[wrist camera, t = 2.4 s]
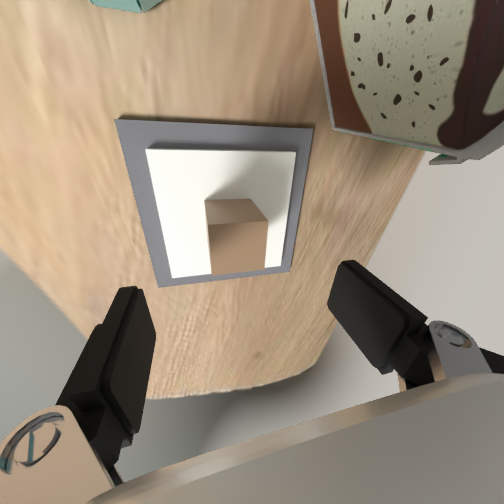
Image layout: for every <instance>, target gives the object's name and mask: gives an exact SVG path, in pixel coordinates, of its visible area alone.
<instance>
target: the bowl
mask: <svg viewBox="0 0 504 504" xmlns="http://www.w3.org/2000/svg"><path fill="white" fill-rule="evenodd" d="M88 1H89V2H90V3H92V4H93V5H94V4H95V5H96V6H99V7H105V8H111V9H118V10H124V11H130V12H137V13H142V11H141V10H143V12H144V13H145V12H146V11H147V10H149V9H150V8H152V7H153V6H155V5H156V4H157V3H159V2H161V1H162V0H88Z"/></svg>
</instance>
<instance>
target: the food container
mask: <svg viewBox="0 0 504 504" xmlns="http://www.w3.org/2000/svg"><path fill="white" fill-rule="evenodd" d="M310 6H311V12H312V18H313V23H314V29H315V35H316V40H317V46H318V52H319V57H320V63H321V69H322V74H323V80H324V86H325V91H326V97H327V103H328V109H329V114H330V120H331V126H332V130H334V131H338V132H343V133H348V134H352V135H357V136H361V137H366V138H371V139H375V140H380V141H384V142H389V143H394V144H398V145H403V146H408V147H412V148H417V149H421V150H426V151H431V152H435V153H440V154H441V155H439V156H437V157H436V158H434V159H432V160H431V161H429V165H440V164H461V163H463V162H464V161H466V160H468V159H473V160H480V159H482V158H484V157H485V156H487V155H489V154H490V153H492V152H493V151H495V150H497V149H498V148H500V147H501V146H503V145H504V0H310Z"/></svg>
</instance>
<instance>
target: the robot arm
mask: <svg viewBox="0 0 504 504" xmlns="http://www.w3.org/2000/svg"><path fill="white" fill-rule="evenodd" d="M327 305H328V308H329V310H330V311H331V312H332V314H333V315H334V316H335V318H336V319H337V320H338V322H339V323H340V324H341V325H342V327H343V328H344V329H345V331H346V332H347V333H348V334H349V336H350V337H351V338H352V340H353V341H354V342H355V344H356V345H357V346H358V347H359V349H360V350H361V351H362V352H363V354H364V355H365V356H366V358H367V359H368V360H369V361H370V363H371V364H372V365H373V366H374V367H375V368H377V369H378V370H379V371H380V373H381V374H382V375H383V374H387V373H390V372H392V371H393V370H394V369H395V370H396V372H397V373H398V380H399V388H400V393H396V394H393V395H390V396H386V397H383V398H380V399H377V400H373V401H370V402H367V403H364V404H360V405H357V406H354V407H351V408H348V409H344V410H341V411H338V412H335V413H332V414H328V415H325V416H322V417H319V418H315V419H312V420H309V421H306V422H303V423H299V424H296V425H293V426H290V427H287V428H284V429H281V430H277V431H274V432H271V433H268V434H265V435H262V436H258V437H256V438H252V439H249V440H246V441H243V442H240V443H237V444H233V445H230V446H227V447H224V448H221V449H218V450H215V451H211V452H209V453H205V454H203V455H200V456H197V457H194V458H191V459H188V460H185V461H182V462H179V463H176V464H173V465H170V466H167V467H164V468H161V469H158V470H155V471H153V472H151V473H148V474H145V475H143V476H140V477H138V478H135V479H133V480H130V481H128V482H124V480H123V478H122V476H121V474H120V473H119V471H118V469H117V467H116V466H115V463H116V462H117V461H118V459H119V454H120V450H121V448H123V447H127V446H131V444H132V440H133V435H134V434H135V433H138V432H139V429H140V425H141V419H142V414H143V409H144V403H145V397H146V392H147V386H148V381H149V375H150V369H151V364H152V358H153V353H154V347H155V341H156V332H155V329H154V325H153V322H152V319H151V315H150V312H149V309H148V306H147V302H146V299H145V296H144V292H143V290H142V289H138V288H137V286H130V287H122V288H119V290H118V292H117V294H116V296H115V298H114V300H113V302H112V304H111V307H110V309H109V311H108V313H107V315H106V317H105V319H104V321H103V323H102V324H98V325H97V326H96V327H95V328H94V330H93V331H92V333H91V335H90V337H89V339H88V341H87V343H86V345H85V347H84V349H83V351H82V353H81V355H80V357H79V359H78V361H77V363H76V365H75V368H74V369H73V371H72V373H71V375H70V377H69V379H68V381H67V383H66V385H65V387H64V389H63V391H62V393H61V395H60V397H59V399H58V401H57V403H56V405H55V406H50V407H47V408H45V409H42V410H40V411H38V412H36V413H34V414H33V415H31V416H29V417H28V418H26V419H25V420H24V421H22V422H21V423H20V424H19V425H18V426H16V427H15V428H14V429H13V430H12V431H11V432H10V433H9V434H8V435H7V437H5V438H4V440H3V441H2V442H1V444H0V504H504V356H502V355H499V354H496V353H493V352H491V351H487V350H485V349H482V348H479V347H478V345H477V343H476V342H475V341H474V339H473V338H472V337H471V336H470V335H469V334H467V333H466V332H465V331H463V330H462V329H461V328H459V327H457V326H454V325H453V324H450V323H447V322H444V321H432V322H431V323H430V324H429V325H428V326H427V325H426V324H425V321H426V320H427V318H428V317H426V316H425V315H424V314H423V313H421V312H420V311H419V310H418V309H416V308H415V307H414V306H413V305H411V304H410V303H409V302H407V301H406V300H405V299H403V298H402V297H401V296H400V295H399V294H397V293H396V292H395V291H393V290H392V289H391V288H390V287H388V286H387V285H386V284H385V283H383V282H382V281H381V280H379V279H378V278H377V277H376V276H374V275H373V274H372V273H371V272H369V271H368V270H367V269H365V268H364V267H363V266H362V265H360V264H359V263H358V262H357V261H355V260H347V261H342V262H341V263H340V264H339V265H338V268H337V272H336V275H335V278H334V282H333V285H332V288H331V292H330V295H329V299H328V302H327Z"/></svg>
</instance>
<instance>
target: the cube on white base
mask: <svg viewBox="0 0 504 504" xmlns="http://www.w3.org/2000/svg"><path fill="white" fill-rule="evenodd" d="M145 151H146V155H147V160H148V165H149V170H150V174H151V179H152V184H153V189H154V194H155V198H156V203H157V208H158V213H159V218H160V222H161V227H162V232H163V237H164V242H165V246H166V251H167V256H168V261H169V265H170V270H171V275H172V278H179V277H188V276H196V275H205V274H212V276H213V275H221V274H230V273H239V272H247V271H256V270H264V268H267V267H276V266H281V259H282V252H283V245H284V237H285V230H286V223H287V215H288V208H289V201H290V193H291V186H292V179H293V171H294V164H295V157H296V152H293V151H255V150H209V149H162V148H147V149H145Z"/></svg>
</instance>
